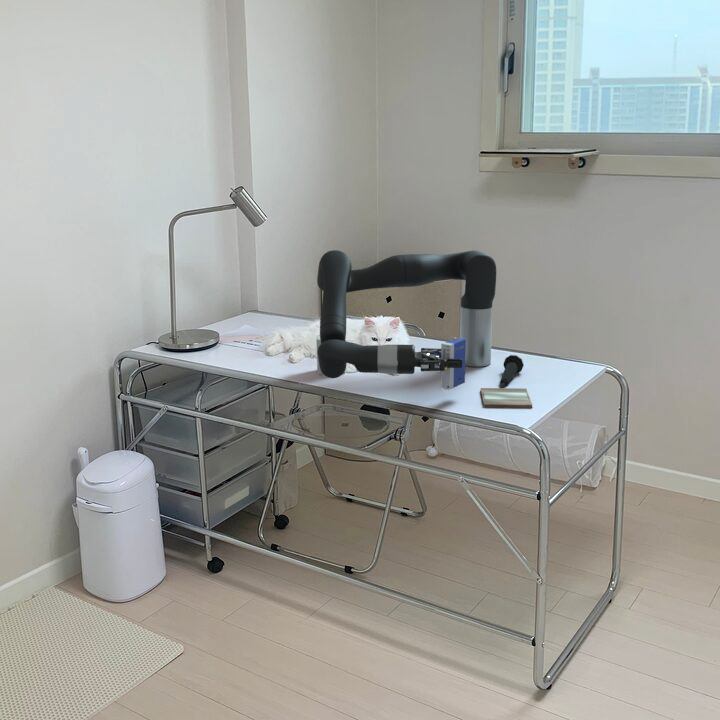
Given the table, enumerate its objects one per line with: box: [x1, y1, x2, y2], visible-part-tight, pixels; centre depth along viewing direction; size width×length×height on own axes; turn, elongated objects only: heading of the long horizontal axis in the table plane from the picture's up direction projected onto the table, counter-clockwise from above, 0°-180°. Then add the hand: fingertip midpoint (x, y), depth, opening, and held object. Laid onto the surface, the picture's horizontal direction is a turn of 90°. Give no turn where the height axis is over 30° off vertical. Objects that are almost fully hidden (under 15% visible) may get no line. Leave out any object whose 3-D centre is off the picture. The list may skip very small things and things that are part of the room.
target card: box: [480, 387, 533, 409], centre depth 224 cm, size 14×12×1 cm
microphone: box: [499, 354, 524, 388], centre depth 241 cm, size 6×6×20 cm
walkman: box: [440, 337, 466, 391], centre depth 221 cm, size 8×3×12 cm, turn 143°
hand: (461, 359), depth 220 cm, fingers closed on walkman, 6 cm apart
